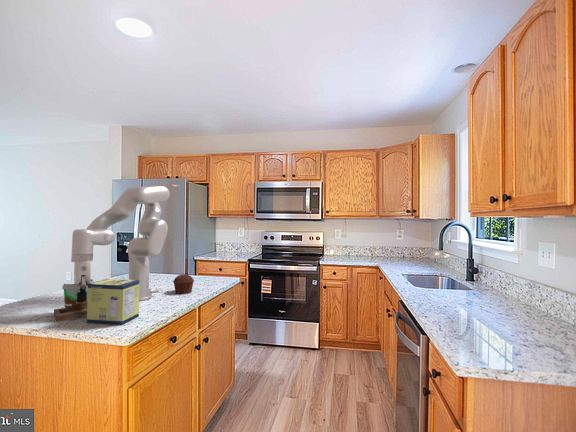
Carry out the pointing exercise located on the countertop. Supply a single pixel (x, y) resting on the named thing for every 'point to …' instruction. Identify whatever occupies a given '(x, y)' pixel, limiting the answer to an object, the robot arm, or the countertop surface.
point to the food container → (73, 295)
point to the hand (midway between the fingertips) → (80, 299)
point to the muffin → (183, 284)
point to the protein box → (113, 301)
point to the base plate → (70, 313)
